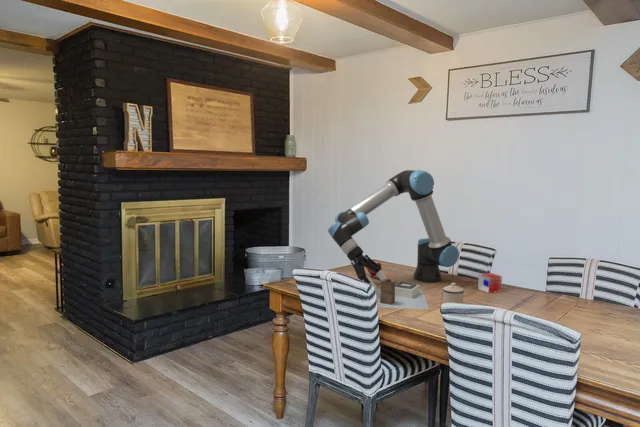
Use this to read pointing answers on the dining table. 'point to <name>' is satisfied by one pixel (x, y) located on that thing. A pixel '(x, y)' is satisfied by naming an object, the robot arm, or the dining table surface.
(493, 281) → the puzzle cube
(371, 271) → the decorative bird figurine
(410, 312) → the dining table surface
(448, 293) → the teacup with lid
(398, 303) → the mat
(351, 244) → the robot arm
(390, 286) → the walnut pillar
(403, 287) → the base brick
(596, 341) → the dining table surface
